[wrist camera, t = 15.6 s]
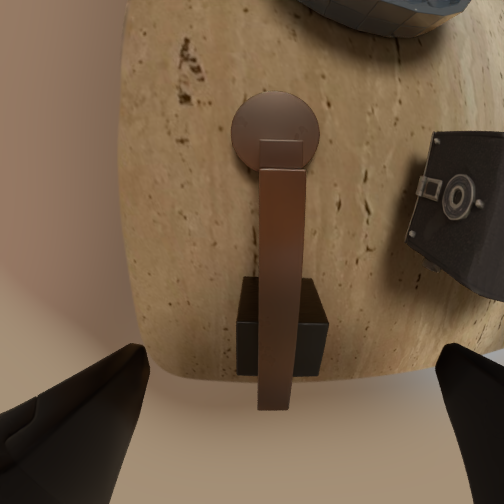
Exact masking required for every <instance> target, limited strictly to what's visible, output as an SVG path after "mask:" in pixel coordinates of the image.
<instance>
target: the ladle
mask: <svg viewBox="0 0 504 504" xmlns="http://www.w3.org/2000/svg"><path fill="white" fill-rule="evenodd" d="M319 136H320V132H319V125H318V121H317V119H316V116H315V115H314V113H313V111H312V110H311V108H310V107H309V106H308V105H307V104H306V103H305V102H304V101H303V100H301V99H300V98H298V97H296V96H294V95H292V94H289V93H286V92H281V91H268V92H263V93H259V94H257V95H255V96H253V97H251V98H249V99H248V100H247V101H245V102H244V103H243V104H242V105H241V106H240V108H239V109H238V110H237V112H236V114H235V116H234V118H233V121H232V126H231V139H232V144H233V147H234V149H235V151H236V153H237V155H238V156H239V158H240V159H241V160H242V161H243V162H244V163H245V164H246V165H247V166H248V167H250V168H251V169H253V170H255V171H257V172H259V325H258V407H257V408H258V410H288V409H289V401H290V393H291V386H292V377H293V368H294V359H295V350H296V340H297V329H298V318H299V306H300V294H301V280H302V265H303V247H304V227H305V200H306V170H305V169H302V168H303V167H304V166H305V165H306V164H307V163H308V162H309V161H310V160H311V158H312V157H313V156H314V154H315V152H316V150H317V147H318V143H319Z"/></svg>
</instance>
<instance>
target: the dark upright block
mask: <svg viewBox="0 0 504 504" xmlns="http://www.w3.org/2000/svg"><path fill="white" fill-rule="evenodd" d="M258 325H259V277H246V276H244V277H243V282H242V289H241V295H240V301H239V308H238V314H237V321H236V373H237V375H242V376H258ZM328 327H329V322H328V319H327V317H326V314H325V311H324V309H323V306H322V303H321V301H320V298H319V295H318V293H317V290H316V288H315V285H314V282H313V280H312V279H308V278H302V280H301V294H300V306H299V318H298V329H297V340H296V350H295V359H294V368H293V377H309V376H318V375H319V371H320V366H321V362H322V357H323V352H324V347H325V342H326V337H327V332H328Z"/></svg>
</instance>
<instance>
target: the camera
mask: <svg viewBox="0 0 504 504" xmlns="http://www.w3.org/2000/svg"><path fill="white" fill-rule="evenodd" d="M416 195H418V198H417V201H416V205H415V208H414V211H413V214H412V217H411V220H410V223H409V226H408V229H407V232H406V235H405V243H407V245H408V246H409V247H411V248H412V249H413V250H415V251H417V252H418V253H420V254H421V255H423V256H424V257H425V258H424V260H423V263H422V265H423V266H424V267H425V268H427V269H429V270H431V271H434V272H440V270H441V269H442V270H443V271H445V272H446V273H447V274H449V275H450V276H451V277H453V278H454V279H455V280H456V281H458V282H459V283H460V284H462V285H463V286H465V287H467V288H468V289H470V290H471V291H473V292H474V293H476V294H478V295H480V296H483V297H486V298H489V299H493V300H497V301H501V302H504V132H494V131H446V132H433V134H432V137H431V142H430V147H429V152H428V157H427V162H426V166H425V171H424V175H423V176H420V179H419V183H418V187H417V191H416Z"/></svg>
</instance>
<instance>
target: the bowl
mask: <svg viewBox="0 0 504 504" xmlns="http://www.w3.org/2000/svg"><path fill="white" fill-rule="evenodd" d="M297 1H299V2H301V3H303V4H304V5H306V6H308V7H309V8H311V9H312V10H314V11H316V12H317V13H319V14H320V15H322V16H324V17H326V18H329V19H331V20H334V21H336V22H338V23H341V24H343V25H345V26H348V27H350V28H352V29H354V30H359V31H363V32H368V33H372V34H376V35H380V36H384V37H407V38H413V37H416V36H419V35H422V34H424V33H427V32H430V31H432V30H433V29H435V28H437V27H438V26H440V25H441V24H443V23H445V22H446V21H448V20H450V19H451V18H453V17H455V16H456V15H458V14H460V13H462V12H463V11H464V10H465V8H466V7H467V6H468V4H469V3H470V1H471V0H297Z"/></svg>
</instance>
